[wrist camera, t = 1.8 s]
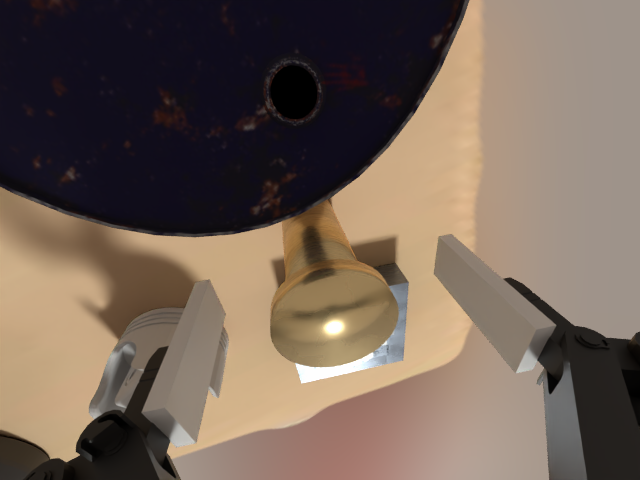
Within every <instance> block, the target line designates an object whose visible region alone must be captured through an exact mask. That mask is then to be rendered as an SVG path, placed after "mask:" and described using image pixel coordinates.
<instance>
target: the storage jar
mask: <svg viewBox="0 0 640 480" xmlns="http://www.w3.org/2000/svg"><path fill="white" fill-rule="evenodd" d="M468 3H469V0H0V187H2V188H4V189H6V190H8V191H10V192H12V193H14V194H16V195H19V196H21V197H24V198H26V199H29V200H31V201H34V202H36V203H39V204H41V205H44V206H46V207H49V208H51V209H54V210H57V211H59V212H62V213H64V214H67V215H70V216H74V217H77V218H81V219H84V220H88V221H91V222H95V223H98V224H102V225H105V226H109V227H112V228H117V229H123V230H129V231H135V232H140V233H146V234H152V235H163V236H182V237H204V236H217V235H230V234H236V233H241V232H245V231H250V230H255V229H259V228H264V227H268V226H271V225H273V224H276V223H279V222H281V221H284V220H287V219H289V218H292V217H295V216H297V215H300V214H302V213H304V212H305V211H307V210H309V209H311V208H313V207H315V206H316V205H318V204H320V203H322V202H324V201H326V200H327V199H329V198H331V197H332V196H334V195H335V194H336V193H338V192H339V191H340V190H342V189H343V188H344V187H346V186H347V185H348V184H350V183H351V182H352V181H354V180H355V179H356V178H358V177H359V176H360V175H361V174H362V173H363V172H364V171H365V170H366V169H367V168H368V167H369V166H370V165H371V164H372V163H373V162H374V161H375V160H376V159H377V158H378V157H379V156H380V155H381V154H382V153H383V152H384V151H385V150H386V149H387V148H388V147H389V146H390V145H391V143H392V142H393V141H394V139H395V138H396V137H397V136H398V134H399V133H400V132H401V130H402V129H403V128H404V126H405V125H406V124H407V123H408V121H409V120H410V119H411V117H412V116H413V115H414V113H415V112H416V110H417V108H418V107H419V105H420V103H421V102H422V100H423V98H424V97H425V95H426V93H427V92H428V90H429V88H430V87H431V85H432V83H433V81H434V80H435V78H436V76H437V75H438V73H439V71H440V69H441V67H442V65H443V63H444V60H445V58H446V56H447V54H448V51H449V49H450V47H451V45H452V43H453V40H454V38H455V36H456V34H457V31H458V29H459V27H460V25H461V22H462V20H463V18H464V15H465V12H466V9H467V6H468Z"/></svg>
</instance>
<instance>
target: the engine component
mask: <svg viewBox="0 0 640 480" xmlns="http://www.w3.org/2000/svg"><path fill="white" fill-rule="evenodd" d="M184 309H185V308H178V307H168V308H160V309H154V310H151V311H148V312H145V313H143V314H141V315H139V316H138V317H136V318H135V319H134V320H132V322H131V323H130V324H129V325H128V326H127V328H126V330H125V332H124V333H123V335H122V337H121V338H120V340H119V341H118V343H117V345H116V346H115V348H114V349H113V351H112V353H111V354H110V357H109V359H108V361H107V364H106V367H105V370H104V373H103V376H102V379H101V382H100V385H99V387H98V389H97V391H96V393H95V395H94V397H93V398H92V400H91V402H90V405H89V414H90V415H91V416H92V417H93V418H94V419H96V418H97V417H98V416H100V415H102V414H103V413H105V412H107V411H111V410H121V411H122V412H123V413H124V412H125V410H126V407H127V405H128V403H129V401H130V399H131V397H132V395H133V393H134V390H135V388H136V386H137V384H138V383H139V380H140V378H141V375H142V373H144V369H145V367H146V365H147V363H148V360H149V359H150V357H151V356H152V355H153V354H154V353H155V352H156V350H157V349H158V348H161V347H166V346H169V345H170V342H171V340H172V338H173V335H174V333H175V330H176V328H177V326H178V323H179V321H180V318H181V316H182V314H183V311H184ZM228 343H229V339H228V334H227V332H226V330H225V329H224V327H223V328H222V332H221V337H220V341H219V345H218V350H217V354H216V359H215V363H214V367H213V372H212V376H211V381H210V385H209V390H210V392H211V393H212V395H213V396H214V397H217V398H219V395H220V389H221V384H222V379H223V373H224V367H225V362H226V356H227V350H228Z"/></svg>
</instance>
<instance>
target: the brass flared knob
mask: <svg viewBox="0 0 640 480" xmlns="http://www.w3.org/2000/svg"><path fill="white" fill-rule="evenodd" d="M282 231H283V247H284V264H285V281H284V282H283V283H282V284H281V286H280V287H279V289H278V290H277V291H276V293H275V295H274V297H273V300H272V304H271V326H270V331H271V339H272V342H273V344H274V346H275V348H276V349H277V351H278V352H279V353H280V354H281V355H282V356H284V357H285V358H287V359H288V360H290V361H292V362H294V363H297V364H299V365H303V366H308V367H316V368H328V367H336V366H342V365H345V364H349V363H352V362H355V361H357V360H360V359H362V358H364V357H366V356H368V355H370V354H371V353H373V352H374V351H376V350H377V349H378V348H379V347H381V346H382V345H383V344H384V343H385V342H386V341H387V340H388V338H389V337H390V336H391V334H392V333H393V331H394V329H395V327H396V325H397V322H398V317H399V308H398V304H397V301H396V299H395V297H394V295H393V293H392V292H391V290H390V288H389V286H388V285H387V283H386V281H385V279H384V278H383V277H382V275H381V274H380V273H379V272H378V271H377V270H375V269H374V268H372V267H371V266H369V265H367V264H365V263H362V262H359V261H357V259H356V256H355V254H354V252H353V250H352V248H351V246H350V244H349V242H348V240H347V238H346V236H345V233H344V231H343V229H342V227H341V225H340V223H339V221H338V219H337V217H336V215H335V213H334V210H333V208H332V206H331V204H330V203H329V201H328V200H326V201H324V202H322V203H320V204H318V205H316V206H315V207H313V208H311V209H309V210H307V211H305V212H304V213H302V214H300V215H297V216H295V217H292V218H289V219H287V220H284V221H282Z"/></svg>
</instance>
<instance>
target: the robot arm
mask: <svg viewBox="0 0 640 480" xmlns="http://www.w3.org/2000/svg"><path fill="white" fill-rule="evenodd" d="M434 275H435V276H436V277H437V278H438V279H439V281H440V282H441V283H442V284H443V286H444V287H445V288H446V289H447V290H448V292H449V293H450V294H451V295H452V296H453V298H454V299H455V300H456V301H457V303H458V304H459V305H460V306H461V307H462V309H463V310H464V311H465V312H466V314H467V315H468V316H469V317H470V318H471V320H472V321H473V322H474V323H475V325H476V326H477V327H478V328H479V329H480V331H481V332H482V333H483V334H484V336H485V337H486V338H487V339H488V340H489V342H490V343H491V344H492V345H493V346H494V348H495V349H496V350H497V351H498V353H499V354H500V355H501V356H502V357H503V359H504V360H505V361H506V362H507V364H508V365H509V366H510V367H511V368H512V370H513V371H514V372H515V373H519V372H524V371H528V370H533V368H534V367H535V364H536V363H537V361H539V362H540V363H541V365H543V367H544V370H543V371H542V373H541V375H540V376H539V378H538V381H537V384H538V385H540V384H541V383H542V381H543V388H544V404H545V420H546V436H547V452H548V467H549V480H640V332H638V333H636V334H635V335H634V337H633V338H632V339H631V340H628V339H616V338H606V337H604V336H603V335H601V334H599V333H598V332H596V331H594V330H591V329H588V328H585V327H579V326H574V325H573V324H571V323H570V322H569V321H568V320H566V319H565V318H564V317H563V316H561V315H560V314H559V313H558V312H556V311H555V310H554V309H553V308H552V307H551V306H549V305H548V304H547V303H546V302H544V301H543V300H541V299H540V297H538V296H537V295H536V294H535V293H532V291H531V290H530V289H529V288H527V287H526V286H525V285H524V284H522V283H520V282H518V281H516V280H514V279H512V278H505V279H503V278H501V277H500V276H499V275H498V274H497V273H496V272H494V271H493V270H492V269H491V268H490V267H489V266H487V265H486V264H485V263H484V262H483V261H482V260H481V259H479V258H478V257H477V256H476V255H475V254H474V253H473V252H471V251H470V250H469V249H468V248H467V247H466V246H465V245H463V244H462V243H461V242H460V241H459V240H458V239H456V238H455V237H454V236H453V235H452V234H450V235H444V236H439V238H438V245H437V253H436V260H435V268H434ZM225 315H226V314H225V312H224V309H223V307H222V305H221V303H220V301H219V299H218V297H217V294H216V292H215V290H214V288H213V286H212V284H211V281H210V280H204V281H199V282H195V285H194V287H193V290H192V292H191V294H190V297H189V299H188V302H187V304H186V306H185V309H184V311H183V314H182V316H181V318H180V321H179V323H178V326H177V328H176V330H175V333H174V335H173V338H172V340H171V342H170V345H169V346H166V347H161V348H158V349H157V350H156V352H155V353H154V354H153V355H152V356H151V357H150V359H149V360H148V363H147V365H146V367H145V369H144V373H142V375H141V378H140V380H139V383H138V384H137V386H136V388H135V390H134V393H133V395H132V397H131V399H130V401H129V403H128V405H127V407H126V410H125V412H124V413H123V412H122V411H121V410H111V411H107V412H105V413H103V414H102V415H100V416H98V417H97V418H96V419H94V420H93V421H92V422H91V423H90V424H89V425H88V426H87V427H86V429H85V430H84V431H83V432H82V434H81V435H80V437H79V440H78V442H77V444H76V452H77V453H79V454H80V456H78V457H76V458H74V459H72V460H70V461H68V462H67V463H66V462H65V461H63V460H61V459H60V458H56V459H50V460H49V458H48V456H47V455H46V454H45V453H44V452H42V451H41V450H39V449H38V448H36V447H34V446H32V445H30V444H27V443H25V442H22V441H18V440H15V439H11V438H7V437H2V436H0V480H181V479H180V477H179V475H178V473H177V470H176V468H175V466H174V464H173V462H172V460H171V458H170V456H169V455H168V454H167V449H168V446H169V443H170V442H171V443H172V444H173V445H174V446H175V447H181V446H185V445H190V444H194V443H196V442H197V438H198V433H199V429H200V425H201V420H202V416H203V411H204V407H205V403H206V398H207V394H208V389H209V385H210V381H211V376H212V372H213V367H214V363H215V359H216V354H217V350H218V345H219V341H220V337H221V332H222V328H223V323H224V319H225Z"/></svg>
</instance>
